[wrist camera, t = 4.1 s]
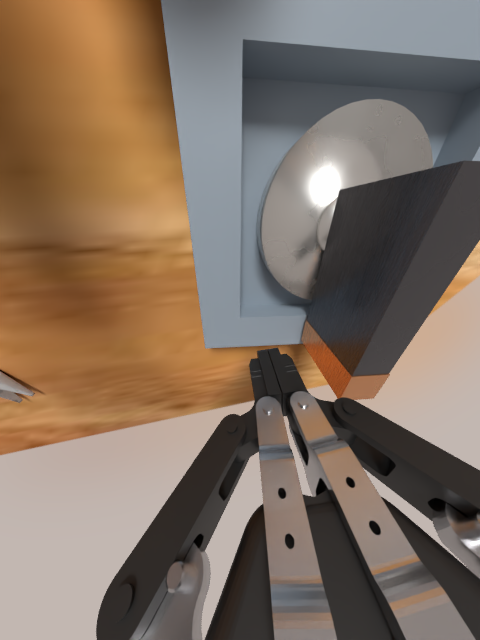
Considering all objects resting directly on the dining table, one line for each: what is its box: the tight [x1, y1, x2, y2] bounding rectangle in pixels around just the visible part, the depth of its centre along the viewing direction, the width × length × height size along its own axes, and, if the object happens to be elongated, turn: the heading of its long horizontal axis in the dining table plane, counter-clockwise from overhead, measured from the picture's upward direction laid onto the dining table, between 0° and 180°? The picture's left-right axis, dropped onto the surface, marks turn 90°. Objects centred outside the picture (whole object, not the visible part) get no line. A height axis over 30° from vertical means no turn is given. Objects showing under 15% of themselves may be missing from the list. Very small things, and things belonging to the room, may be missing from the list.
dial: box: [257, 99, 480, 400], centre depth 11 cm, size 16×12×9 cm
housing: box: [161, 0, 480, 348], centre depth 13 cm, size 22×22×3 cm
